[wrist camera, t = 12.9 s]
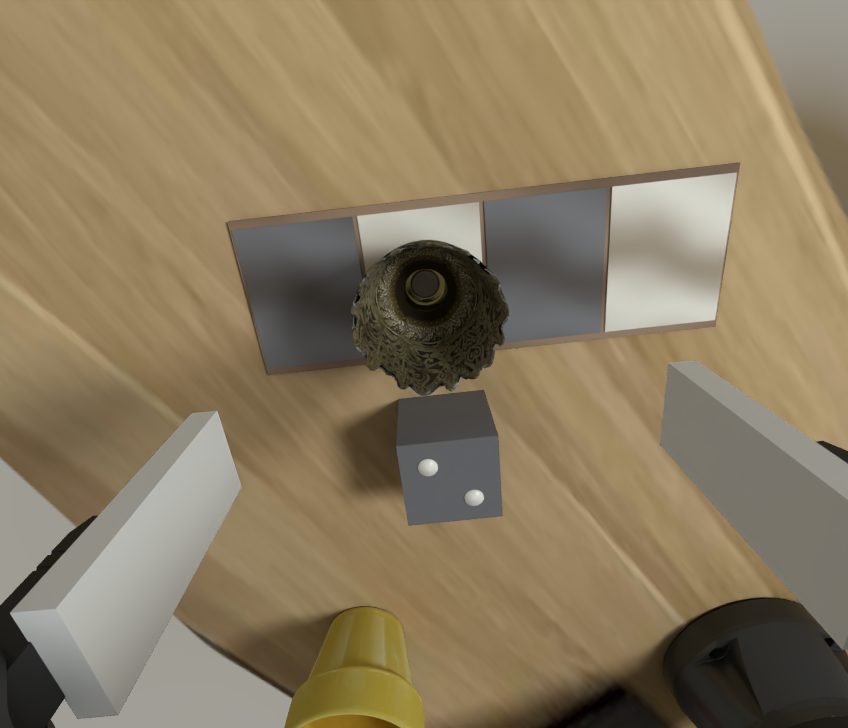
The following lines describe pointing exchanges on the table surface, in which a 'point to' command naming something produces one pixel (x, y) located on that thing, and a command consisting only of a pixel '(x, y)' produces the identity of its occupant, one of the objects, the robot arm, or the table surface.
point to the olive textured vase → (429, 317)
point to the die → (448, 458)
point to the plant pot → (359, 677)
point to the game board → (502, 260)
